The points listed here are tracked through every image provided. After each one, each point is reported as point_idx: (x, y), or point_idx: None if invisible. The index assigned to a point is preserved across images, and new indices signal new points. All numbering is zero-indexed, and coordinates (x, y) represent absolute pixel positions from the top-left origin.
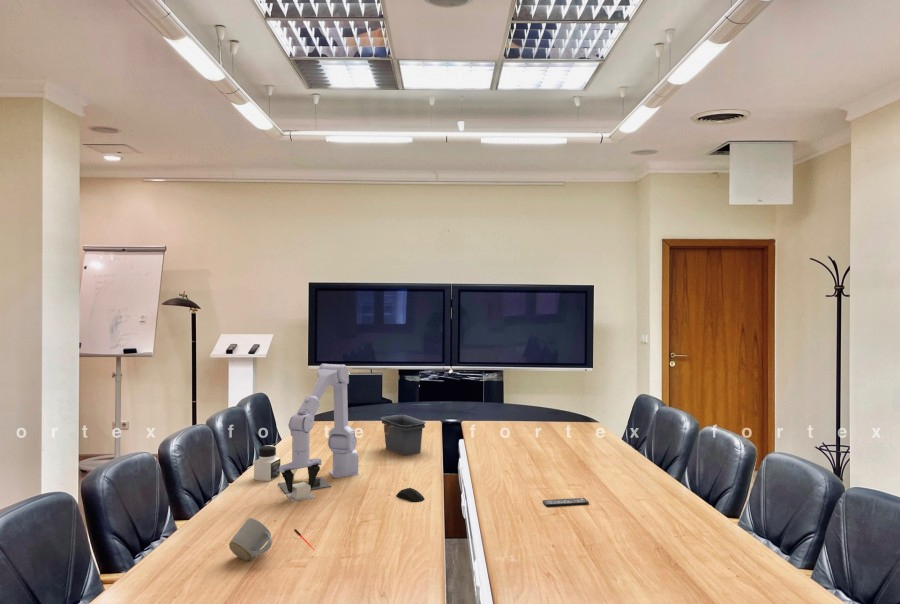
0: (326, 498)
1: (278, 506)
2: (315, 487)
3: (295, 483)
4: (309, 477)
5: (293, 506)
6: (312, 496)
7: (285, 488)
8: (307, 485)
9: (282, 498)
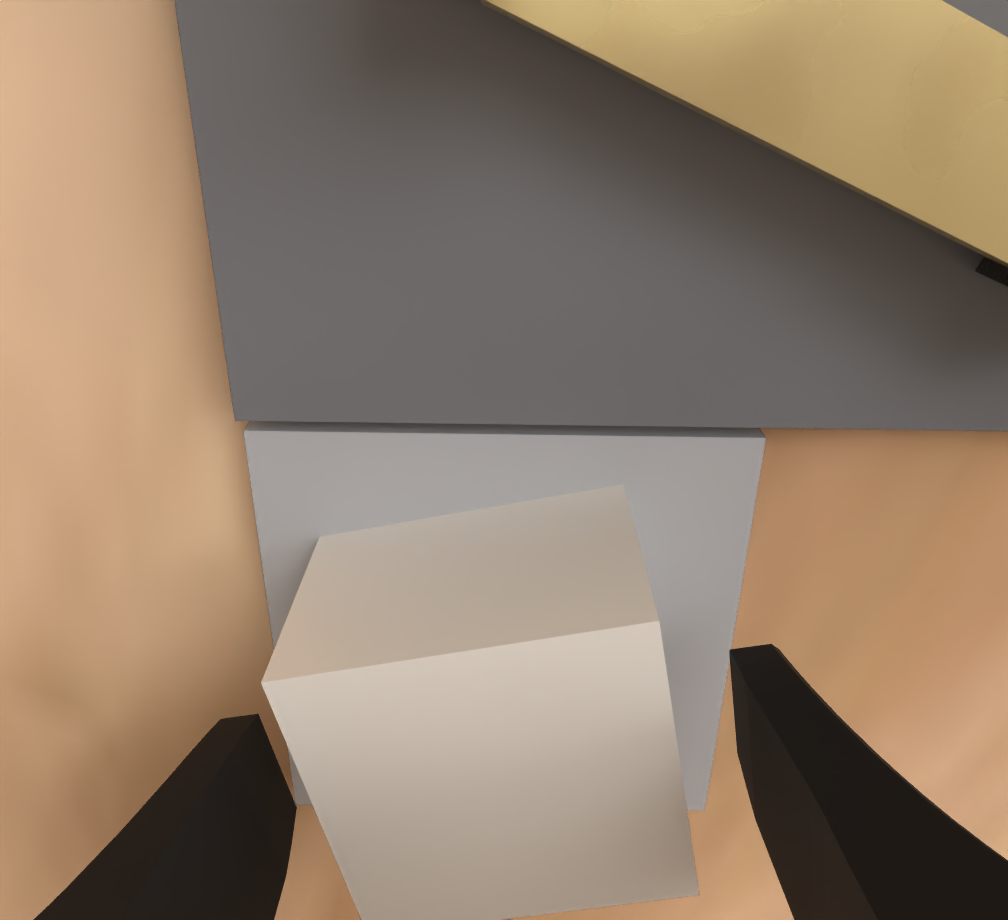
0: None
1: (91, 823)
2: (965, 372)
3: (558, 41)
4: (814, 843)
5: (307, 899)
6: (679, 756)
7: (263, 58)
8: (642, 863)
9: (171, 536)
